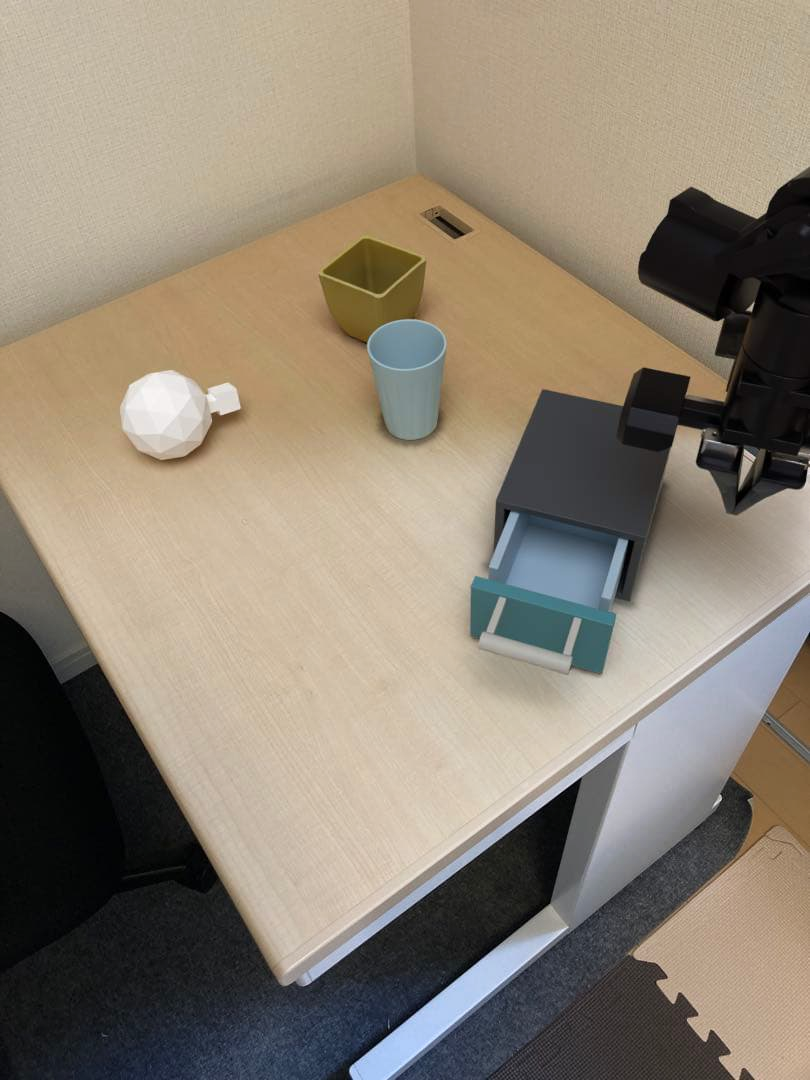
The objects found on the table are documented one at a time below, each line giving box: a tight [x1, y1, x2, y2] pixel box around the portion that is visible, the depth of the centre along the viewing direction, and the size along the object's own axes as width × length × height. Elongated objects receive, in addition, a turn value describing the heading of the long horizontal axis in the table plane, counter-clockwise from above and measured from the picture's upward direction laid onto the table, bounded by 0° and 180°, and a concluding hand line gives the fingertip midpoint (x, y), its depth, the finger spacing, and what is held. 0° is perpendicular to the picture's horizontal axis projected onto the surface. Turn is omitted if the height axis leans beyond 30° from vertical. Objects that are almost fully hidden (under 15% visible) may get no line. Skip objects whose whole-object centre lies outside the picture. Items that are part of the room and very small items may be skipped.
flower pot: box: [317, 234, 428, 344], centre depth 102 cm, size 9×9×9 cm
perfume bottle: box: [119, 369, 242, 461], centre depth 92 cm, size 9×9×12 cm
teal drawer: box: [469, 510, 631, 676], centre depth 76 cm, size 18×11×8 cm, turn 159°
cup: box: [366, 318, 448, 441], centre depth 92 cm, size 8×8×10 cm
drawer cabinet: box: [493, 388, 672, 602], centre depth 82 cm, size 15×13×9 cm
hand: (732, 510), depth 69 cm, fingers closed
